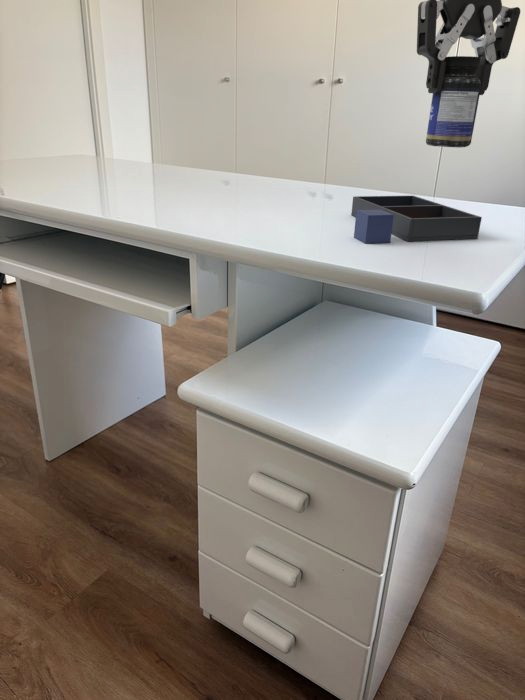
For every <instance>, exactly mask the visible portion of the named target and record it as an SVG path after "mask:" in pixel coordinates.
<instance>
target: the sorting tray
mask: <svg viewBox="0 0 525 700" xmlns="http://www.w3.org/2000/svg"><path fill="white" fill-rule="evenodd" d="M357 210H383V211H385V212H388V213H390V214H393V215H394V218H393V225H392V233H391V235H393V236H395V237H397V238H399V239H401V240H403V241H406V242H431V241H430V240H433V241H451V240H450V239H458V240H477V239H478V238H479V235H480V229H481V225H482V224H481V223H482V219H483V217H482V216H479V215H478V214H477V215H476V214H473V213H470V212H467V211H463V210H460V209H457V208H454V207H451V206H447V205H444V204H441V203H439V202H435V201H433V200H432V201H431V200H428V199H425V198H422V197H420V196H416V195H365V196H364V195H359V196H358V195H355V196H352V205H351V214H350V215H351V216H352V217H354V218H356V211H357Z"/></svg>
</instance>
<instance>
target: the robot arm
mask: <svg viewBox="0 0 525 700" xmlns="http://www.w3.org/2000/svg"><path fill="white" fill-rule="evenodd" d="M439 16H440V17H441V19H442V22H443V23H442V25H441V26H440V28H439V30H438V32H437V20H438V19H439ZM520 16H521V8H520V7H519V6H515V7H507V6H505V5H503V3H502V0H424V1H421V2H420V3H419V4H418V7H417V29H416V31H417V32H416V54H417V55H418V56H422V57H424V58H426V59H427V60H428V65H427V67H428V68H427V75H426V81H425V86H426V89H427V90H428V91H427V92H428V94H433V93H441V91H442V85H443V79H444V72H445V66H446V62H443V60H444V59H445V58H446V57H448V54H449V52H450V51H451V49H452V47H453V45H454V44H456V43H457V41H458V40H459V38H463V39H465V40H470V45H471V47H472V48H473V49H474V53H475V57H480V65H479V68H478V69H477V71H476V77H478V78H479V79H480V81H481V90H480V96H483V95H484V94H485V92H486V91H487V90H488V88H489V84H490V78H491V74H492V70H493V69H492V68H493V65H494V64H495V63H496V62H498V61H500V60H506V59H507V58H508V56H509V53H510V50H511V46H512V43H513V39H514V37H515V33H516V30H517V26H518V22H519V19H520ZM494 22H495V25H496V28H495V25H494Z"/></svg>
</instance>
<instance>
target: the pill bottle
mask: <svg viewBox="0 0 525 700" xmlns="http://www.w3.org/2000/svg"><path fill="white" fill-rule="evenodd" d="M443 62H446V66H445V72H444V79H443V85H442V91H441V93H432V95H431V97H432V98H431V104H430V110H429V117H428V123H427V124H428V125H427V131H426V138H425V143H426V145H427V146H430V147H443V148H467V147H469V146H471V144H472V139H473V135H474V134H473V133H474V128H475V123H476V117H477V113H478V107H479V101H480V100H479V99H480V96H481V95H480V90H481V81H480V79H479V78H478V77H476V71H477V69H478V68H479V65H480V57H476V56H469V55H467V56H466V55H455V56H451V55H450V56H446V58H445V59H444V60H443Z"/></svg>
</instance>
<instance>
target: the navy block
mask: <svg viewBox="0 0 525 700" xmlns="http://www.w3.org/2000/svg"><path fill="white" fill-rule="evenodd" d="M393 218H394V215H393V214H390V213H388V212H385V211H383V210H357V211H356V217H355V221H354V222H355V223H354V232H353V239H356V240H358V241H360V242H362V243H364V244H367V245H368V244H390V243H391V239H392V234H391V233H392V225H393Z"/></svg>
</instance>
